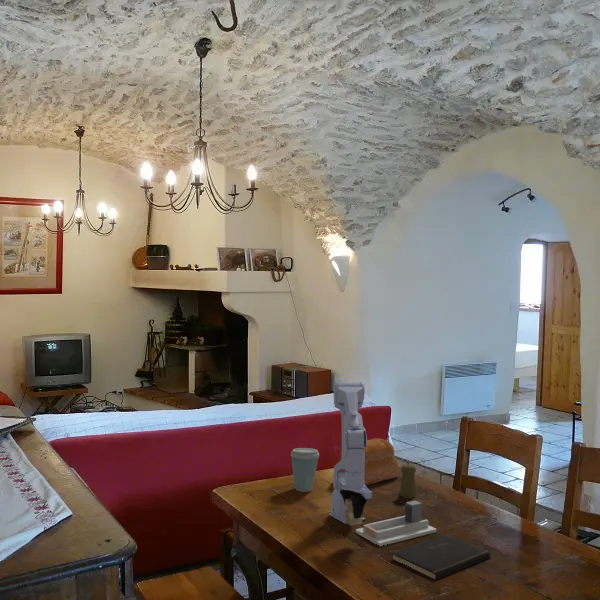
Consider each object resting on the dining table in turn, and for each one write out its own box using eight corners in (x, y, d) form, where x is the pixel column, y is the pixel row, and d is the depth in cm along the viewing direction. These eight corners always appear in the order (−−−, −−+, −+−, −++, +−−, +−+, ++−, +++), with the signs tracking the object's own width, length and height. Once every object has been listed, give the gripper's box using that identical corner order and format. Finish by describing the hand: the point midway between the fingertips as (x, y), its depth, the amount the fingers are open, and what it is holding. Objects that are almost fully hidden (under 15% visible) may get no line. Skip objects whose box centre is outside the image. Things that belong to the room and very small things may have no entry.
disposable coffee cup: (288, 485, 248) (289, 445, 248) (317, 484, 249) (317, 445, 249) (291, 494, 238) (291, 453, 237) (321, 493, 239) (321, 452, 238)
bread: (330, 482, 253) (331, 443, 252) (377, 469, 270) (378, 432, 269) (355, 491, 242) (356, 450, 242) (402, 477, 259) (403, 439, 259)
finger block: (345, 522, 195) (345, 499, 195) (357, 519, 197) (357, 496, 197) (351, 525, 192) (351, 502, 192) (363, 523, 195) (363, 499, 194)
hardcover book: (391, 560, 184) (391, 552, 184) (445, 541, 198) (445, 533, 198) (435, 582, 171) (435, 573, 171) (490, 559, 185) (490, 551, 185)
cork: (416, 498, 234) (416, 468, 234) (399, 497, 235) (399, 466, 235) (416, 493, 240) (417, 463, 240) (400, 492, 241) (400, 462, 241)
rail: (355, 532, 202) (355, 506, 202) (410, 519, 214) (411, 495, 214) (379, 546, 192) (380, 519, 192) (436, 532, 204) (436, 506, 203)
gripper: (329, 465, 198) (329, 510, 199) (358, 479, 186) (357, 526, 186) (348, 462, 202) (348, 506, 202) (378, 475, 189) (377, 521, 190)
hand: (354, 515), depth 195 cm, fingers closed on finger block, 3 cm apart
